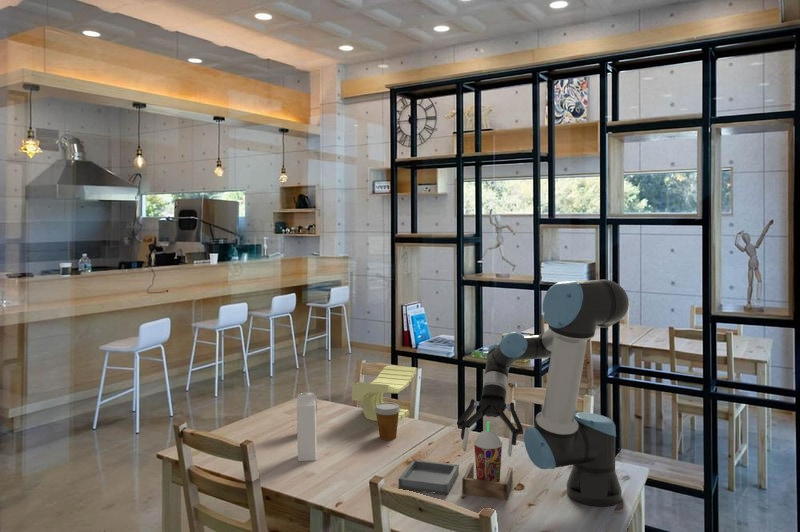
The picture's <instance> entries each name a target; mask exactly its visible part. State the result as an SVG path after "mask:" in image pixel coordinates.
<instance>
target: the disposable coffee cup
mask: <svg viewBox="0 0 800 532" xmlns="http://www.w3.org/2000/svg"><path fill="white" fill-rule="evenodd" d="M400 409H401V408H400V406H399V403H396V402H391V401H390V402H387V401H386V402H384V403H380V404H377V405H376V408H375V412H376V416H377V421H376V422H377V428H378V429H377V430H378V437H379V439H380V440H383V441H392V440H395V439H396V438H397V434H398V424H399V422H398V416H399V411H400Z"/></svg>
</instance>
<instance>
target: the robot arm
mask: <svg viewBox="0 0 800 532" xmlns="http://www.w3.org/2000/svg"><path fill="white" fill-rule="evenodd" d="M629 303H630V302H629V297H628V294H627V292H626V290H625V289H624V288H623V287H622V286H621V285H620V284H619V283H616V282H615V281H613V280H610V279H597V280H595V279H592V280H590V279H589V280H566V281H560V282H556V283H554V284H553V285H552V286H550V287H549V289H547V291H546V293H545V294H544V298H543V302H542V313H544V314H543V318H544V320H545V322H546V323H547V325H548V326H549V327H548V329H546V331H544V332H543V333H540V334H535V335H527V336H526V335H523V334H522V333H519V332H517V331H510V332H508V333H507V334H506V335H505V336H504V337H502V339H501V340H500V342H499V343H494V344H491V345H490V346H489V348H488V351H487V354H486V363H485V370H484V377H483V384H482V386H483V387H482V390H481V391H482V392H481V397H480V401H477V400H475V399H474V398H472V399H470V402H469V405H468V406H467V408H466V409H465V411H464V412H463V413H462V415H461V416H460V417H459V418H458V420H457V421H456V425H457V427H458V429H461V431H460V438H461V440H463V441H462V447H461V449H462V450H463V452H467V448H468V441H469V434H470V431H469V430H470V428H471V427H472V426H473V425H475V424H476V423H477V422H478V421H479V420H480V419H482V418H483V417H485V416H486V417H488V418H491V417H492V418H498V417H499V418H500V419H501V420H502V421H503V423H504V424H505V425H506V427H507V428H508V430H509V431H510V432H509V436H508V437H509V439H508V446H507V447H508V448H507V455H508V457H510V458H511V457H512V455H513V454H512V453H513V446H516V445H517V441H518V440H517V439H518V438H517V437H518V435H523V442H524V447H525V451H526V453H527V455H528V457H529V460H530V461H531V462H532V464H533V465H535V467H537V468H538V469H540V470H555V469H557V468H562V467H569V466H572V468H571V469H570V472H569V476H568V478H567V481H566V494H567V495H568V497H569V498H571V499H572V500H574V501H576V502H578V503H581V504H584V505H587V506H592V507H593V506H594V507H610V506H614V505H617V504H619V503H620V502H621V500H622V497H623V496H622V495H623V493H622V491H623V490H622V487H621V484H620V481H619V478H618V474H617V472H616V448H617V447H616V443H617V442H616V441H617V439H616V438H617V434H616V433H617V432H616V424H615V422H614V420H612V419H611V418H609V417H608V416H604V415H602V414H598V413H592V412H584V411H583V412H580V411H579V412H576V410H577V404H578V398H579V393H580V388H581V387H580V386H581V385H580V384H581V380H582V374H583V369H584V362H585V357H586V351H587V344H588V341H589V340H591V339H593V338H594V337H595V335H596V334H595V332H596V331H597V330H598V329H600V328H610V327H611V326H612V325H615V324H617V323H618V322H620V321H621V320H622V319H624V317H626V314H627V313H628V310H629V306H630V304H629ZM537 359H538V360H539V359H549V364H548V365H549V366H548V372H547V378H546V385H545V391H544V398H543V405H542V411H540V412H538V413H537V414H536V416H535V422H534V426H532V425H531V426H528V428H526V429H525V430H524V428H523V426H522V423H521V420H520V418H519V416H518V414H517V411H516V407H515V403H514V402H510V403H506V399H507V398H506V396H507V388H508V379H509V370H510V368H511V366H513V365H514V364H515V362H519V361H528V360H529V361H530V360H537ZM478 407H479V408H478ZM477 408H478V410H477V411H476V412H475V413H474V414H473V415H472V413H473V412H474V411H475V409H477ZM506 409H507V410H508V411H509V412H510V413H511V416H512V420H513V421H514V424H515V426H516V427H515V426H514V424H513V423H512V422H511V420H510V419H509V418H508V417H507V414H505V410H506ZM471 415H472V416H471ZM470 416H471V417H470Z"/></svg>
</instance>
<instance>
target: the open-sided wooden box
mask: <svg viewBox="0 0 800 532" xmlns="http://www.w3.org/2000/svg"><path fill="white" fill-rule="evenodd" d="M474 466H475V465H474V463H473V462H470V463H469V465H468V467H467V469H466V471H465V472H464V475H463V477H462V479H461V481H462V483H461V484H462V485H461V487H462V492H461V493H462V495H469V496H475V497H485V498H492V499H496V500H497V499H499V500H504V501H505V500H506V501H508V498H509V496H510V495H509V494H510V492H511V488H512V485H513V483H514V482H513V478H514V477H513V475H514V474H513V471H514V470H513V469H514V468H512V467H508V469H507V473H506V476H505V479H504V481H503V482H501V481H500V482H495V481H487V480H479V479H477V478H474V477H475V476H474V475H475V474H474V473H475V472H474V469H475V467H474Z"/></svg>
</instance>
